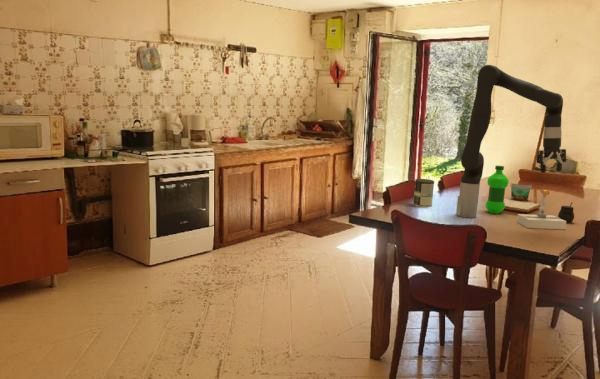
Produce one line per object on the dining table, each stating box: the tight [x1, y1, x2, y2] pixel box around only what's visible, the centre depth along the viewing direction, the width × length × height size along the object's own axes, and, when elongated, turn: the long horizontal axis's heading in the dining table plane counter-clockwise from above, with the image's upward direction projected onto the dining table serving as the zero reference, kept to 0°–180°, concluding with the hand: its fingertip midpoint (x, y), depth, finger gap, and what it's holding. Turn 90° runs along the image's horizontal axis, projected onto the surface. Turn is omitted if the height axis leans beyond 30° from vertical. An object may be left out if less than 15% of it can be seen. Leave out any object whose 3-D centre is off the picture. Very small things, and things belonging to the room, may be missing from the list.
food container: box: [510, 182, 533, 202], centre depth 315 cm, size 12×6×10 cm, turn 76°
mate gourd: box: [557, 201, 575, 224], centre depth 261 cm, size 7×8×10 cm
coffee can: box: [412, 178, 435, 208], centre depth 286 cm, size 10×10×14 cm
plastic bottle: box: [485, 165, 510, 215], centre depth 275 cm, size 10×10×25 cm
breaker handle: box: [536, 188, 550, 218], centre depth 249 cm, size 3×4×13 cm
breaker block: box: [516, 213, 567, 230], centre depth 250 cm, size 18×12×4 cm, turn 91°
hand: (550, 172), depth 240 cm, fingers open, 8 cm apart
